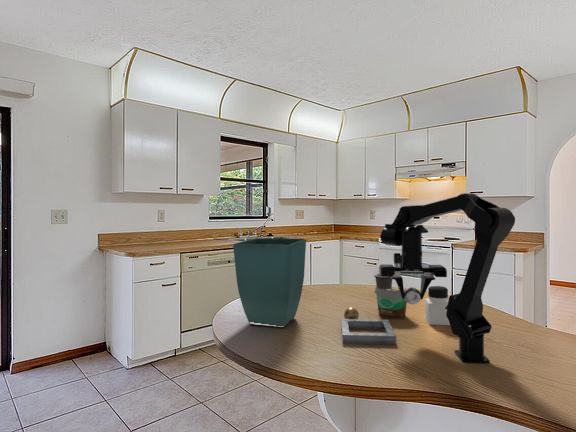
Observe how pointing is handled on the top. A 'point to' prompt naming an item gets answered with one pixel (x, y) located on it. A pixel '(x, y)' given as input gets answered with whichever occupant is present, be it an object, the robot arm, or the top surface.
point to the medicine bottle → (437, 306)
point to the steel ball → (412, 295)
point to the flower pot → (270, 278)
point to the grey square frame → (367, 338)
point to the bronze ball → (351, 313)
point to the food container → (390, 303)
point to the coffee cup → (383, 282)
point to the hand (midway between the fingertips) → (412, 299)
